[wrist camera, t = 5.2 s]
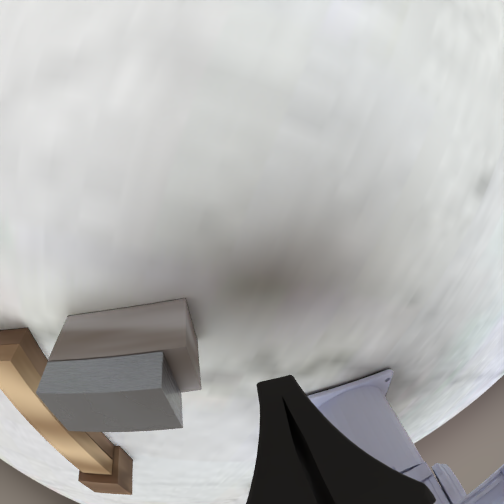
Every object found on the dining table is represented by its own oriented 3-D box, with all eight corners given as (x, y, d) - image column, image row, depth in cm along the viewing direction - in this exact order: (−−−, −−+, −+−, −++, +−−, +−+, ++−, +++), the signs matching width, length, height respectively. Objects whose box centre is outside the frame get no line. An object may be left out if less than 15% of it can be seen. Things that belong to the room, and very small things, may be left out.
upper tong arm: (112, 460, 19) (111, 474, 17) (84, 459, 18) (82, 472, 17) (19, 343, 13) (10, 360, 11) (-11, 345, 12) (-20, 360, 11)
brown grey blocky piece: (234, 451, 23) (241, 487, 19) (97, 459, 21) (94, 492, 18) (185, 298, 15) (186, 352, 11) (-10, 325, 13) (-35, 365, 10)
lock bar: (181, 393, 13) (182, 427, 11) (75, 401, 12) (68, 430, 10) (163, 351, 12) (161, 387, 10) (47, 362, 11) (35, 392, 9)
